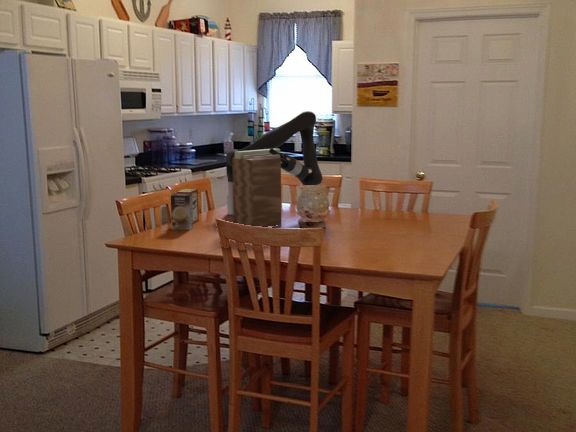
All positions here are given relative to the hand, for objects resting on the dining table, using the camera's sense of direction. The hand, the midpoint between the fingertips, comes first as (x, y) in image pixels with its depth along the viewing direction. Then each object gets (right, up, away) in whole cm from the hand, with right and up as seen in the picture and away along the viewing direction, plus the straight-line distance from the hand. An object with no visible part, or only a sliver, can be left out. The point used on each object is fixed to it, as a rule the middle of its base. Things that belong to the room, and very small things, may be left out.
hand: (267, 149), depth 305 cm
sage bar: (-4, -4, -3) cm, 6 cm away
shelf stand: (-5, -36, -3) cm, 36 cm away
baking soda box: (-39, -35, +7) cm, 52 cm away
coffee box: (-39, -38, -8) cm, 55 cm away
